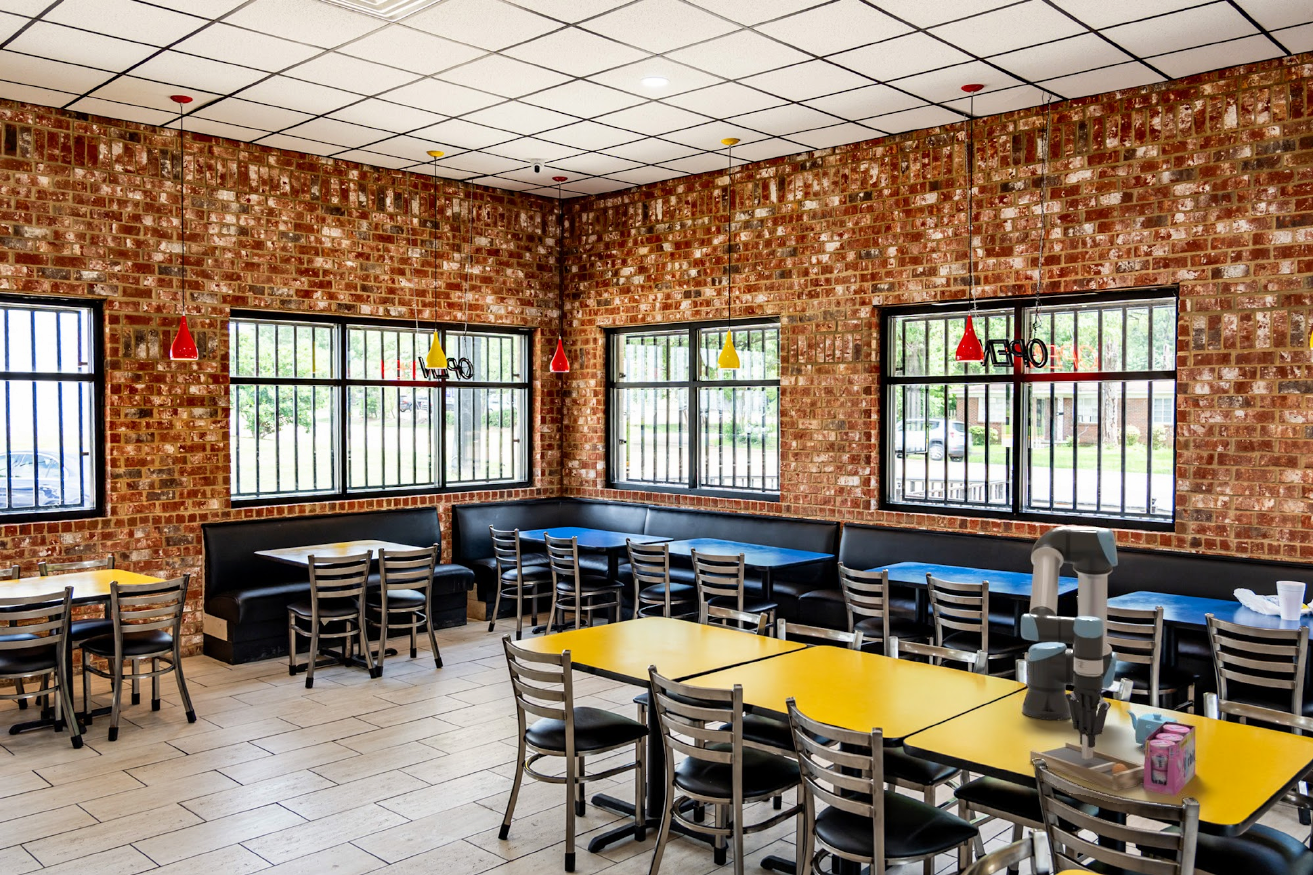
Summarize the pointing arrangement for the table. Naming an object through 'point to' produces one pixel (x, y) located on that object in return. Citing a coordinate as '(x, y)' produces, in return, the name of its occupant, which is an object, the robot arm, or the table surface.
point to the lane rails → (1112, 782)
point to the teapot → (1147, 725)
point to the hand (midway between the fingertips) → (1087, 757)
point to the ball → (1118, 768)
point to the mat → (1082, 759)
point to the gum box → (1169, 758)
